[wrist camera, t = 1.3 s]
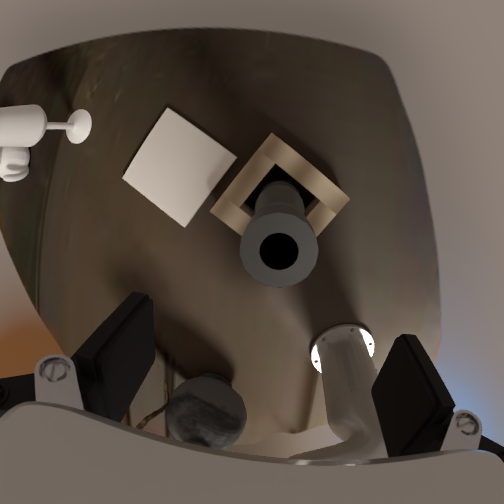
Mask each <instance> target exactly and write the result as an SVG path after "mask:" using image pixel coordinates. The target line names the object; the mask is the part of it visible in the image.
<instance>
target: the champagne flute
mask: <svg viewBox="0 0 504 504" xmlns="http://www.w3.org/2000/svg"><path fill="white" fill-rule="evenodd" d="M91 123H92V122H91V117H90V114H89V113H88V112H87V111H86V110H83V109H80V110H77V111H75V112H74V113H73V114H72V115H71V116H70V118H69V120H68V122H67V123H59V122H47V117H46V114H45V112H44V110H43V109H42V108H41V107H40V106H38V105H22V106H12V107H3V108H0V147H31V146H33V145H35V144H36V143H37V142H38V141H39V140H40V139H41V138H42V137H43V135H44V133H45V131H46V129H66V133H67V137H68V139H69V140H70V141H71V142H72V143H76V144H77V143H81V142H82V141H84V140H85V139H86V138H87V136H88V135H89V133H90V130H91Z"/></svg>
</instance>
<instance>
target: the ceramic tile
mask: <svg viewBox="0 0 504 504" xmlns="http://www.w3.org/2000/svg"><path fill="white" fill-rule="evenodd" d="M237 158H238V157H237V156H235V155H234V154H233V153H231V152H230V151H229V150H227V149H226V148H225V147H223V146H222V145H221V144H219V143H218V142H216V141H215V140H214V139H212V138H211V137H210V136H208V135H207V134H205V133H204V132H203V131H201V130H200V129H198V128H197V127H196V126H194V125H193V124H191V123H190V122H189V121H187V120H186V119H184V118H183V117H181V116H180V115H179V114H177V113H176V112H174V111H173V110H171V109H170V108H167V109H166V110H165V112H164V113H163V115H162V116H161V118H160V119H159V120H158V122H157V123H156V125H155V126H154V128H153V129H152V131H151V132H150V134H149V135H148V137H147V138H146V140H145V141H144V143H143V145H142V146H141V148H140V149H139V151H138V153H137V154H136V156H135V158H134V159H133V161H132V163H131V164H130V166H129V168H128V169H127V171H126V173H125V174H124V176H123V179H124V180H125V181H127V182H128V183H129V184H130V185H131V186H133V187H134V188H135V189H136V190H138V191H139V192H140V193H141V194H143V195H144V196H145V197H146V198H148V199H149V200H150V201H151V202H153V203H154V204H155V205H157V206H158V207H159V208H160V209H162V210H163V211H164V212H165V213H167V214H168V215H169V216H170V217H172V218H173V219H174V220H176V221H177V222H178V223H179V224H181V225H182V226H183V227H184V228H185V227H186V226H187V225H188V223H189V222H190V221H191V219H192V218H193V216H194V215H195V214H196V212H197V211H198V209H199V208H200V207H201V205H202V204H203V203H204V201H205V200H206V199H207V197H208V196H209V194H210V193H211V192H212V190H213V189H214V188H215V186H216V185H217V184H218V182H219V181H220V180H221V179H222V177H223V176H224V175H225V173H226V172H227V171H228V169H229V168H230V167H231V165H232V164H233V163H234V162H235V160H236V159H237Z"/></svg>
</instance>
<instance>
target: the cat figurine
mask: <svg viewBox="0 0 504 504" xmlns="http://www.w3.org/2000/svg"><path fill="white" fill-rule="evenodd" d="M29 159H30V152H29V149H28V147H0V177H1V178H3V180H4V181H8V182H13V181H18V180H21V179H23V178H24V177H25V176H27V174H28V172H29V167H28V163H29Z"/></svg>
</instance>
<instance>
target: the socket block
mask: <svg viewBox="0 0 504 504" xmlns="http://www.w3.org/2000/svg"><path fill="white" fill-rule="evenodd" d="M275 163H276V164H277V165H278V166H279V167H281V168H282V169H283V170H284V171H286V172H287V173H288V174H289V175H291V176H292V177H293V178H294V179H295V180H297V181H298V182H299V183H300V184H301V185H303V186H304V187H305V188H306V189H307V190H309V191H310V192H311V193H312V194H313V195H314V196H315V198H314V199H313V200H312V201H311V202H310V203H309V205H308V206H307V207H306V208H305V211H304V215H305V217H306V218H307V220H308V221H309V223H310V224H311V225H312V228H313V230H314V233H315V235H316V237H317V236H318V235H319V234H320V233H321V232H322V230H323V229H324V228H325V227H326V226H327V225H328V224H329V222H330V221H331V220H332V219H333V218H334V217H335V216H336V215H337V213H338V212H339V211H340V210H341V209H342V208H343V206H344V205H345V204H346V203H347V202H348V201H349V200H350V198H349V197H348V196H347V195H346V194H344V193H343V192H342V191H341V190H340V189H339V188H338V187H337V186H336V185H334V184H333V183H332V182H331V181H330V180H329V179H328V178H327V177H325V176H324V175H323V174H322V173H321V172H320V171H318V170H317V169H316V168H315V167H314V166H313V165H311V164H310V163H309V162H308V161H307V160H305V159H304V158H303V157H302V156H301V155H299V154H298V153H297V152H296V151H294V150H293V149H292V148H291V147H289V146H288V145H287V144H286V143H284V142H283V141H282V140H281V139H279V138H278V137H277V136H275V135H274V134H273V133H271V134H270V135H269V137H268V138H267V139H266V140H265V141H264V143H263V144H262V145H261V146H260V147H259V149H258V150H257V151H256V152H255V154H254V155H253V156H252V157H251V159H250V160H249V161H248V162H247V164H246V165H245V166H244V167H243V169H242V170H241V171H240V172H239V174H238V175H237V176H236V178H235V179H234V180H233V181H232V183H231V184H230V185H229V187H228V188H227V189H226V190H225V192H224V193H223V194H222V196H221V197H220V198H219V200H218V201H217V202H216V204H215V205H214V206H213V208H212V209H211V210H210V212H211V213H212V214H214V215H215V216H216V217H218V218H219V219H220V220H221V221H223V222H224V223H225V224H227V225H228V226H229V227H230V228H232V229H233V230H234V231H236V232H237V233H238V234H239V235H241V236H242V235H243V233H244V231H245V229H246V227H247V225H248V223H249V222H250V220H251V218H252V217H253V215H255V211H254V210H253V209H251V208H250V207H249V206H248V205H246V204H245V203H244V201H245V200H246V199H247V198H248V196H249V195H250V194H251V193H252V191H253V190H254V189H255V188H256V186H257V185H258V184H259V183H260V181H261V180H262V179H263V178H264V176H265V175H266V174H267V173H268V172H269V170H270V169H271V168H272V167H273V166H274V164H275Z"/></svg>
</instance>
